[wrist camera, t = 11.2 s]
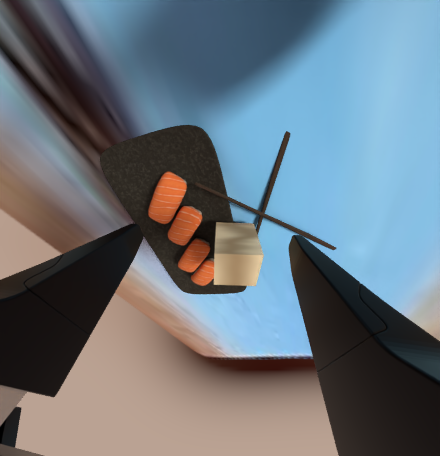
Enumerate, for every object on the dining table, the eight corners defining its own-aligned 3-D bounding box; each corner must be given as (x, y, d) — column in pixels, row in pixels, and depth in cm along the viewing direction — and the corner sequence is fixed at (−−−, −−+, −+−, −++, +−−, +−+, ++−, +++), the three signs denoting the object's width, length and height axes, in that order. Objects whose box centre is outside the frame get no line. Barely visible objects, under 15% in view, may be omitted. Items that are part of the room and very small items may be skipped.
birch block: (253, 223, 21) (263, 255, 16) (248, 251, 24) (255, 285, 19) (216, 222, 21) (214, 253, 16) (215, 250, 24) (213, 284, 19)
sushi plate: (100, 149, 20) (73, 155, 16) (398, 56, 12) (448, 38, 9) (184, 287, 36) (179, 303, 33) (335, 281, 28) (346, 302, 25)
